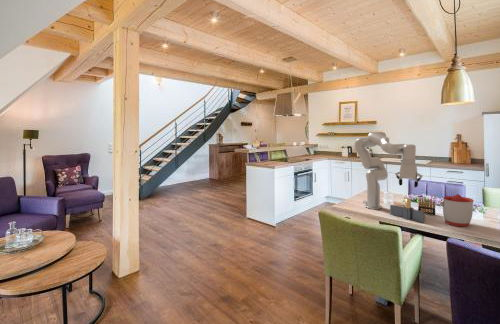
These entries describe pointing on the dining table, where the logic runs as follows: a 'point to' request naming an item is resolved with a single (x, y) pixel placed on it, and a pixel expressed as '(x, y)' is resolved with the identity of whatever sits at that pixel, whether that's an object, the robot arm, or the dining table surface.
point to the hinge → (407, 213)
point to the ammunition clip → (426, 206)
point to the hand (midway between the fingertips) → (408, 186)
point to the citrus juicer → (457, 210)
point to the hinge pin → (408, 203)
